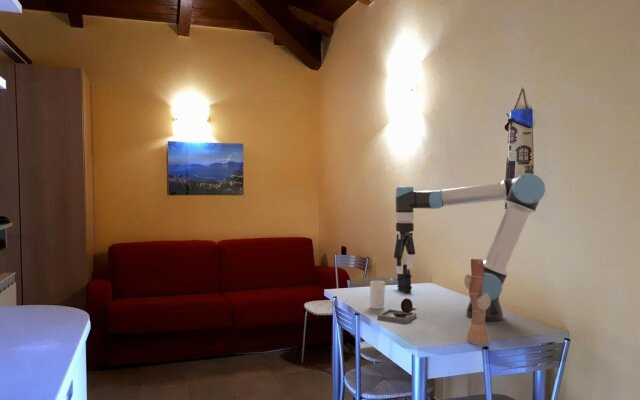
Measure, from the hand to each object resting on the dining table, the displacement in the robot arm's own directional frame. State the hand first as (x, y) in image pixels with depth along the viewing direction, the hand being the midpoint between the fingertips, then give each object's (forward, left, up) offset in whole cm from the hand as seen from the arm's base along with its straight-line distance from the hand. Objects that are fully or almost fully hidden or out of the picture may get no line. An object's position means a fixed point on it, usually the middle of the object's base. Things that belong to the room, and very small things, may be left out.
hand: (405, 271), depth 208 cm
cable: (+2, -9, -20) cm, 22 cm away
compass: (-1, +4, -18) cm, 19 cm away
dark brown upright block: (+21, -53, -20) cm, 61 cm away
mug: (+16, -8, -20) cm, 27 cm away
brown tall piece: (-34, +18, -20) cm, 43 cm away
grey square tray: (+2, +4, -20) cm, 20 cm away
